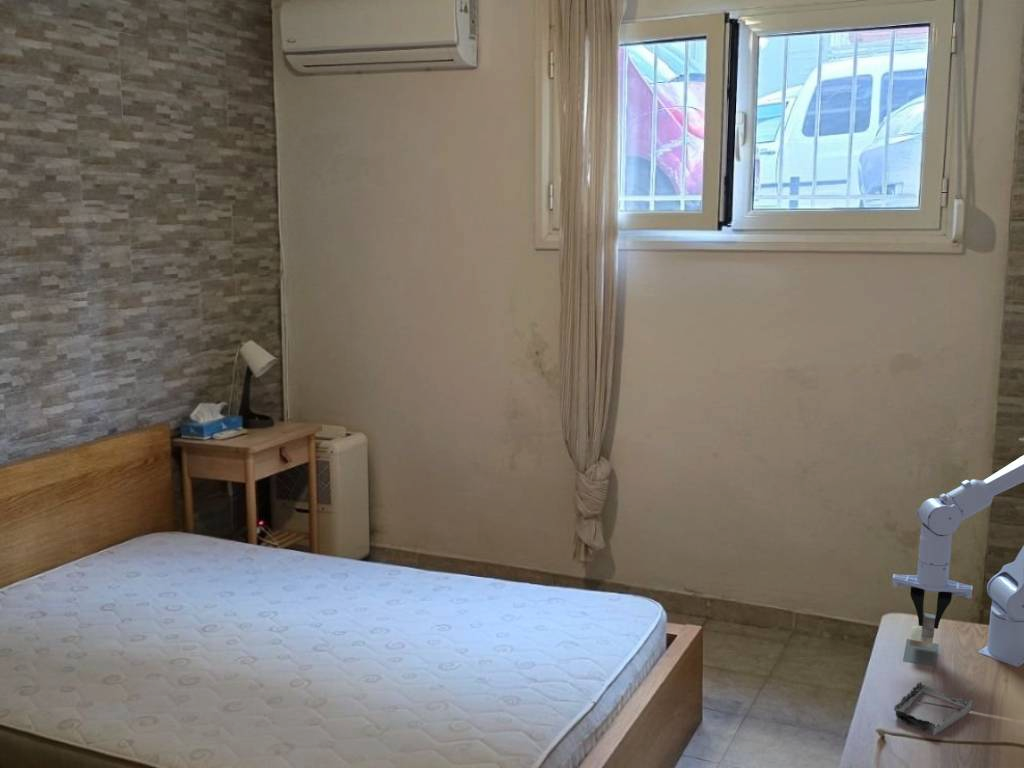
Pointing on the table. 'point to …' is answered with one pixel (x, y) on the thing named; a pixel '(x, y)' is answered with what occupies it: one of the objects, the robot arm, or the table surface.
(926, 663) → the rest mat
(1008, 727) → the table surface
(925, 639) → the scraper
